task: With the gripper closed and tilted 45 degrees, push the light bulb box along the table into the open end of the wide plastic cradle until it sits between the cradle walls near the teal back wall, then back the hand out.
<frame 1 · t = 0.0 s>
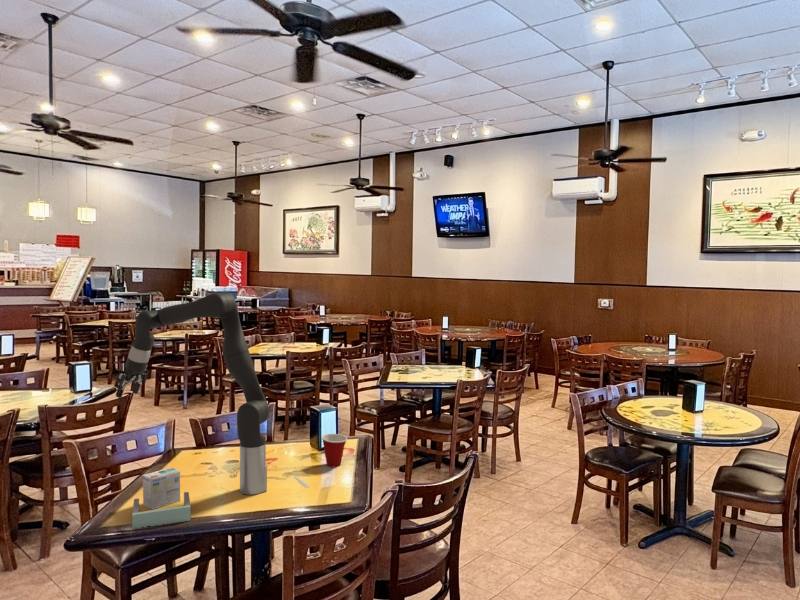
hand: (126, 395, 221), 31 cm above the table, tool tilted 20°, fingers open, 8 cm apart
light bulb box: (161, 503, 194), on the table
cradle: (161, 515, 184), on the table
butter knife: (293, 477, 221), on the table
plastic cup: (334, 465, 235), on the table
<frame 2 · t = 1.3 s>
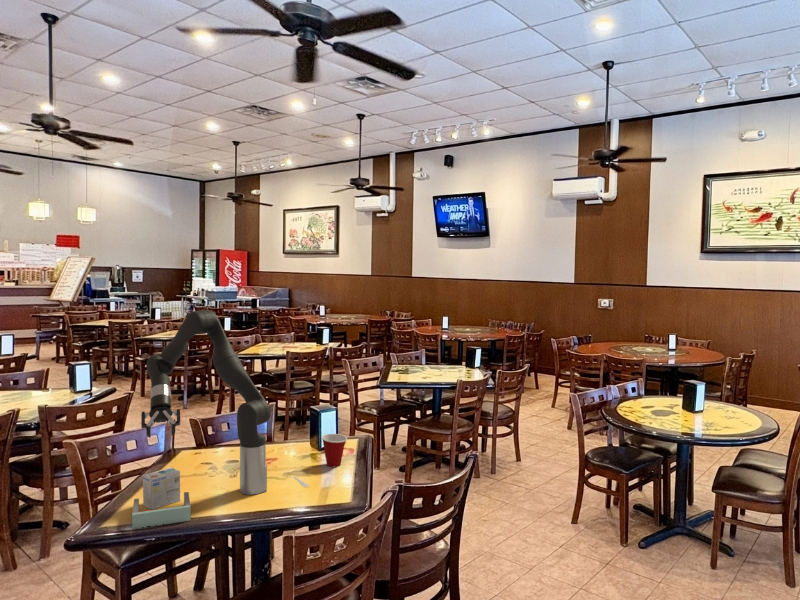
hand: (161, 435, 210), 19 cm above the table, tool tilted 45°, fingers open, 7 cm apart
nothing on the table moved.
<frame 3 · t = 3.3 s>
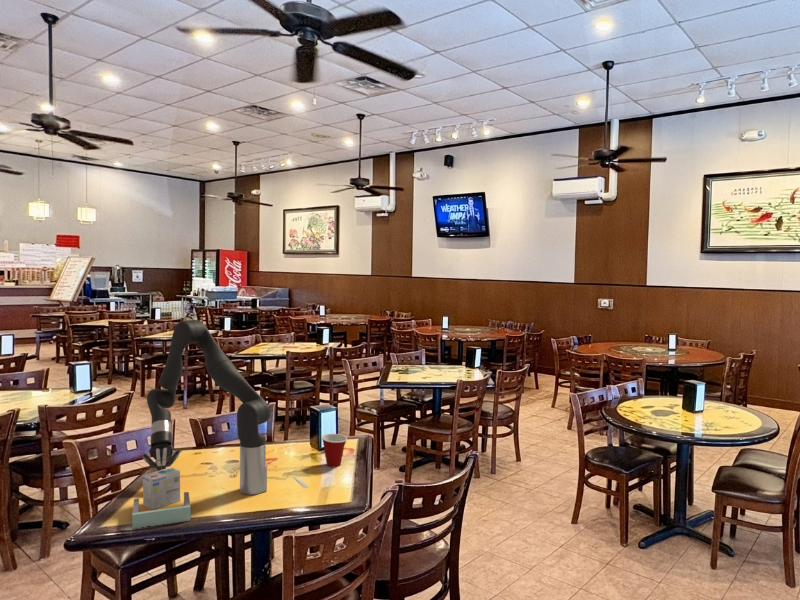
hand: (161, 477, 203), 6 cm above the table, tool tilted 45°, fingers closed
nothing on the table moved.
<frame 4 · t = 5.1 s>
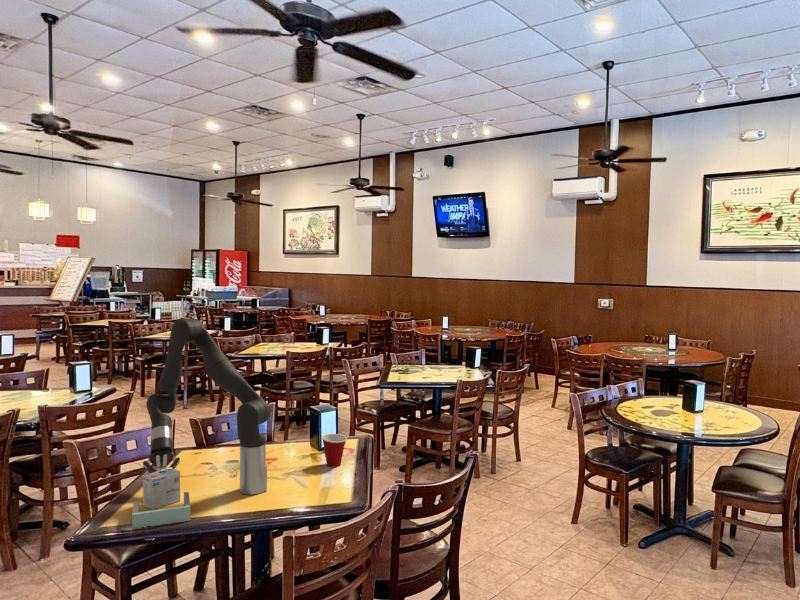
hand: (161, 484, 198), 5 cm above the table, tool tilted 45°, fingers closed
light bulb box: (161, 503, 194), on the table, touching gripper
everything else where it was.
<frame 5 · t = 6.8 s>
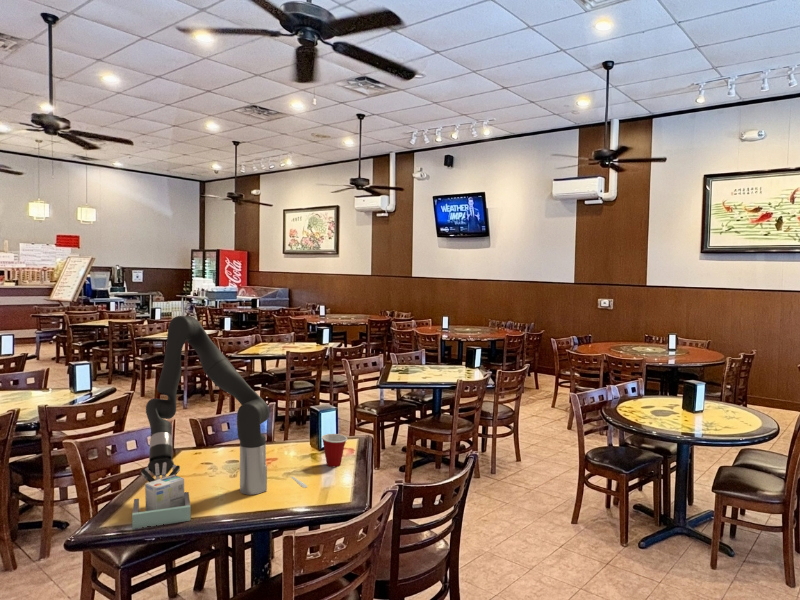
hand: (160, 494, 189), 5 cm above the table, tool tilted 45°, fingers closed
light bulb box: (165, 512, 186), resting in cradle, touching gripper
everything else where it was.
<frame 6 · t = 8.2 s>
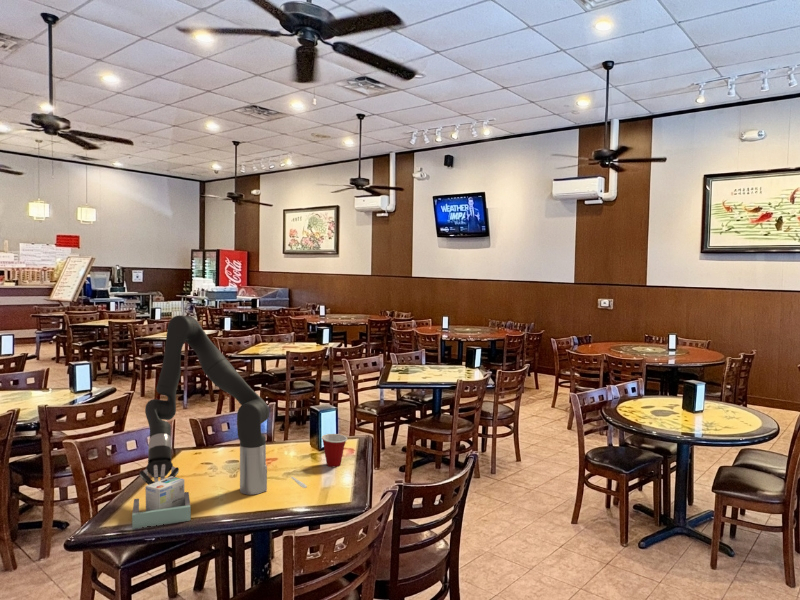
hand: (159, 496, 187), 5 cm above the table, tool tilted 45°, fingers closed
light bulb box: (165, 514, 185), resting in cradle, touching gripper
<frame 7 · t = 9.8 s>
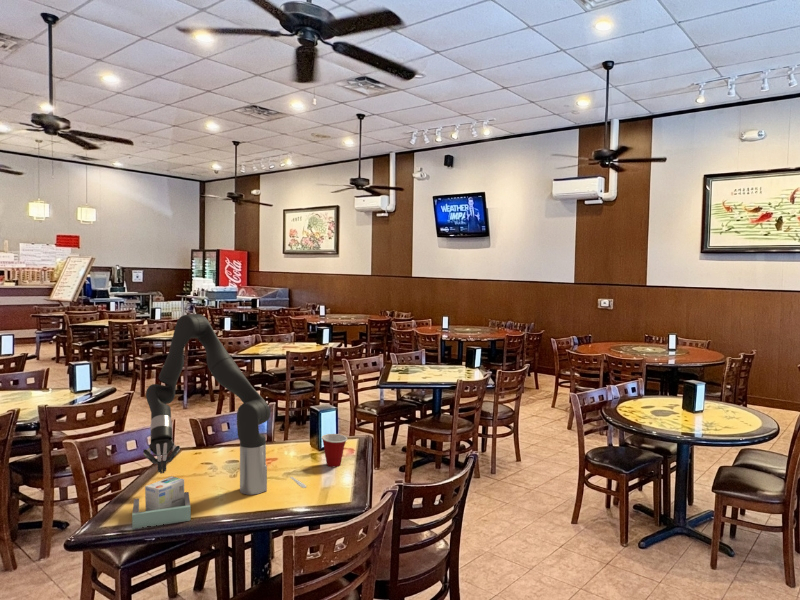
hand: (162, 472, 200), 9 cm above the table, tool tilted 45°, fingers closed
light bulb box: (165, 514, 185), resting in cradle
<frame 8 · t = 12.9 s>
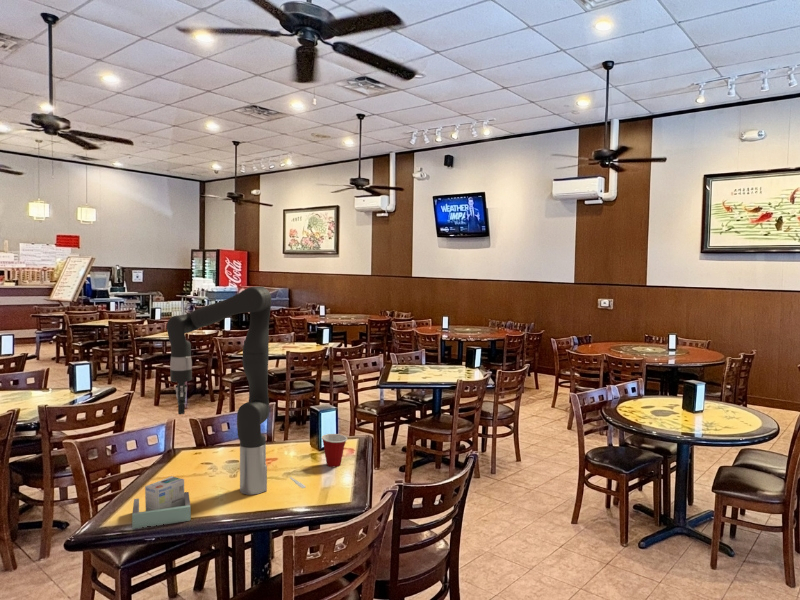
hand: (181, 413, 210), 27 cm above the table, tool pointing down, fingers closed
at the end: light bulb box inside the target area on the cradle (1.0 cm from its centre), point 0.0 cm above the cradle's base; light bulb box tilted 0°; light bulb box moved 10.2 cm from its start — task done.
